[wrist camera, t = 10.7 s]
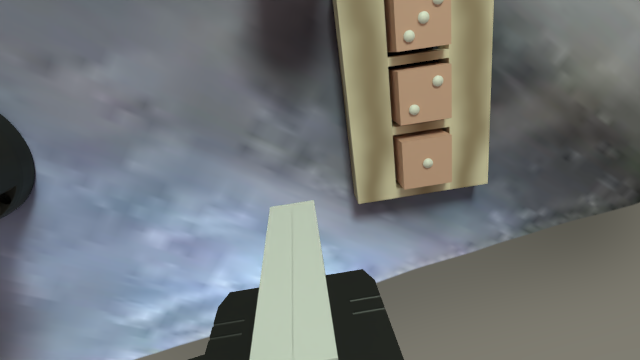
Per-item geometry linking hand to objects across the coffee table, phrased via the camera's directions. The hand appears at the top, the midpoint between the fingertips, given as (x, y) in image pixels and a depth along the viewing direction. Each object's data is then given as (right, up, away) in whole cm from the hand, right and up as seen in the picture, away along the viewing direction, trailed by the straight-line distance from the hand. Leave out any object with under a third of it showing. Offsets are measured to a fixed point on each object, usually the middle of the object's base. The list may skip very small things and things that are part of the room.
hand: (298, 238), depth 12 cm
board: (+11, +13, +29) cm, 33 cm away
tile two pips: (+12, +12, +29) cm, 33 cm away
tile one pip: (+13, +6, +31) cm, 34 cm away
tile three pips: (+10, +19, +26) cm, 34 cm away
